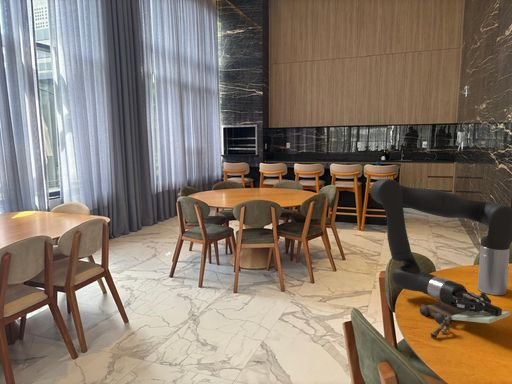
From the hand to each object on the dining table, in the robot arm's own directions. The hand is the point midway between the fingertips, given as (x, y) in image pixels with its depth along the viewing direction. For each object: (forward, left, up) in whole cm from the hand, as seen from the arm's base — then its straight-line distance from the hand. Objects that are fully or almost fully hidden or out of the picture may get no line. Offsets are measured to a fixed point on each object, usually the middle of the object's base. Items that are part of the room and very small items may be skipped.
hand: (500, 312), depth 108 cm
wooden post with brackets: (+12, -10, -9) cm, 18 cm away
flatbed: (0, -17, -8) cm, 19 cm away
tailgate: (0, -12, -6) cm, 13 cm away
